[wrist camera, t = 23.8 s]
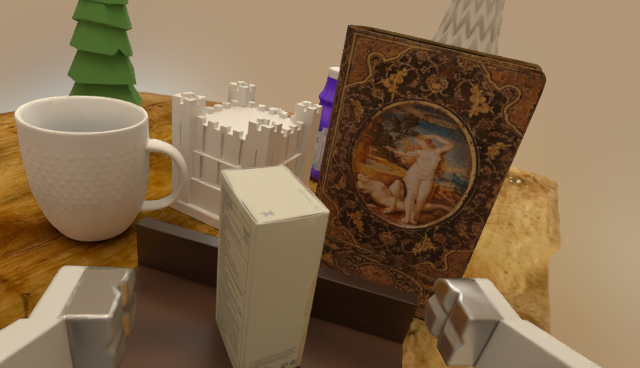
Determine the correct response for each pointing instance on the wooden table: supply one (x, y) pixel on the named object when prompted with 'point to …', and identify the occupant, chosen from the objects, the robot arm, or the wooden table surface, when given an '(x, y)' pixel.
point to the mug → (91, 163)
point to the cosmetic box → (267, 265)
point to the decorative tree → (103, 51)
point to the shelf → (200, 310)
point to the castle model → (236, 144)
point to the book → (418, 155)
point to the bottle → (324, 119)
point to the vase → (472, 25)
